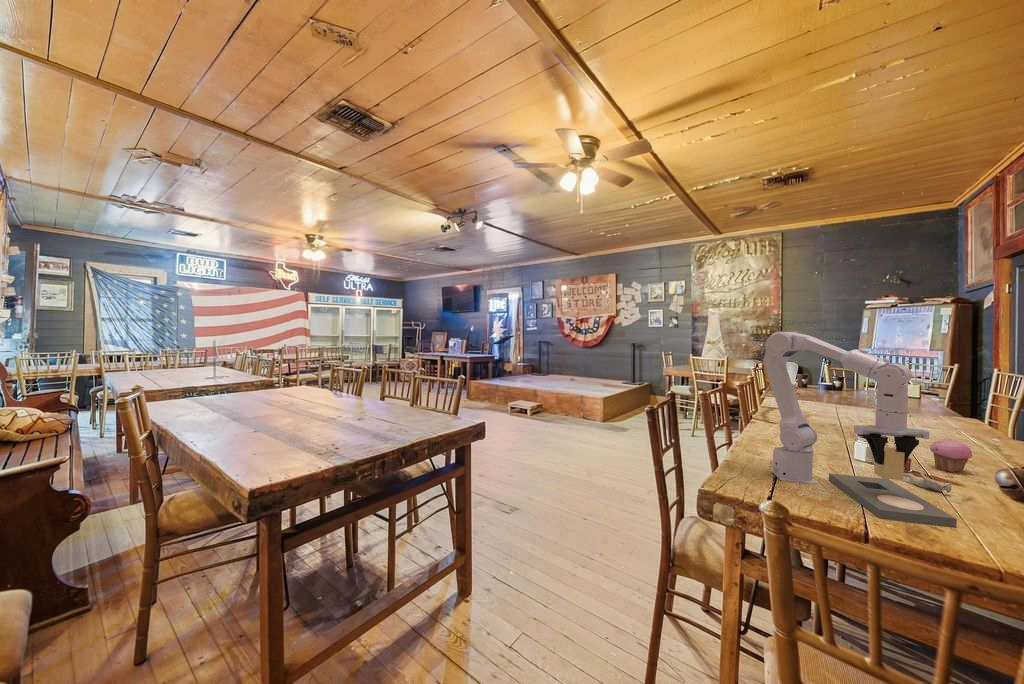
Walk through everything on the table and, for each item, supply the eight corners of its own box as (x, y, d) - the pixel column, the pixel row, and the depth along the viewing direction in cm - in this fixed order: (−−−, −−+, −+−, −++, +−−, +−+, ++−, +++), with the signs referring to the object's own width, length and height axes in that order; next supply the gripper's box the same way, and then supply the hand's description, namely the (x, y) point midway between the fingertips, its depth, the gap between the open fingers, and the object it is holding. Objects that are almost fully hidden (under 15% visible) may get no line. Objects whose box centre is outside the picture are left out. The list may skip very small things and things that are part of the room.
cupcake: (947, 465, 129) (949, 435, 128) (980, 475, 120) (981, 443, 120) (921, 465, 128) (923, 435, 128) (952, 476, 120) (954, 443, 119)
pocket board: (879, 520, 91) (879, 508, 91) (828, 481, 114) (829, 472, 114) (956, 529, 87) (956, 517, 87) (887, 487, 110) (888, 478, 110)
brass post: (883, 478, 98) (884, 451, 98) (873, 473, 102) (874, 446, 102) (903, 480, 97) (904, 452, 97) (892, 474, 101) (893, 447, 100)
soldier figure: (913, 483, 116) (965, 486, 105) (908, 496, 114) (960, 501, 103) (893, 465, 116) (942, 466, 105) (887, 477, 115) (937, 480, 103)
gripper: (866, 412, 97) (864, 466, 97) (940, 416, 93) (937, 472, 93) (850, 406, 103) (848, 457, 104) (918, 410, 99) (916, 463, 100)
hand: (889, 464), depth 99 cm, fingers closed on brass post, 4 cm apart
